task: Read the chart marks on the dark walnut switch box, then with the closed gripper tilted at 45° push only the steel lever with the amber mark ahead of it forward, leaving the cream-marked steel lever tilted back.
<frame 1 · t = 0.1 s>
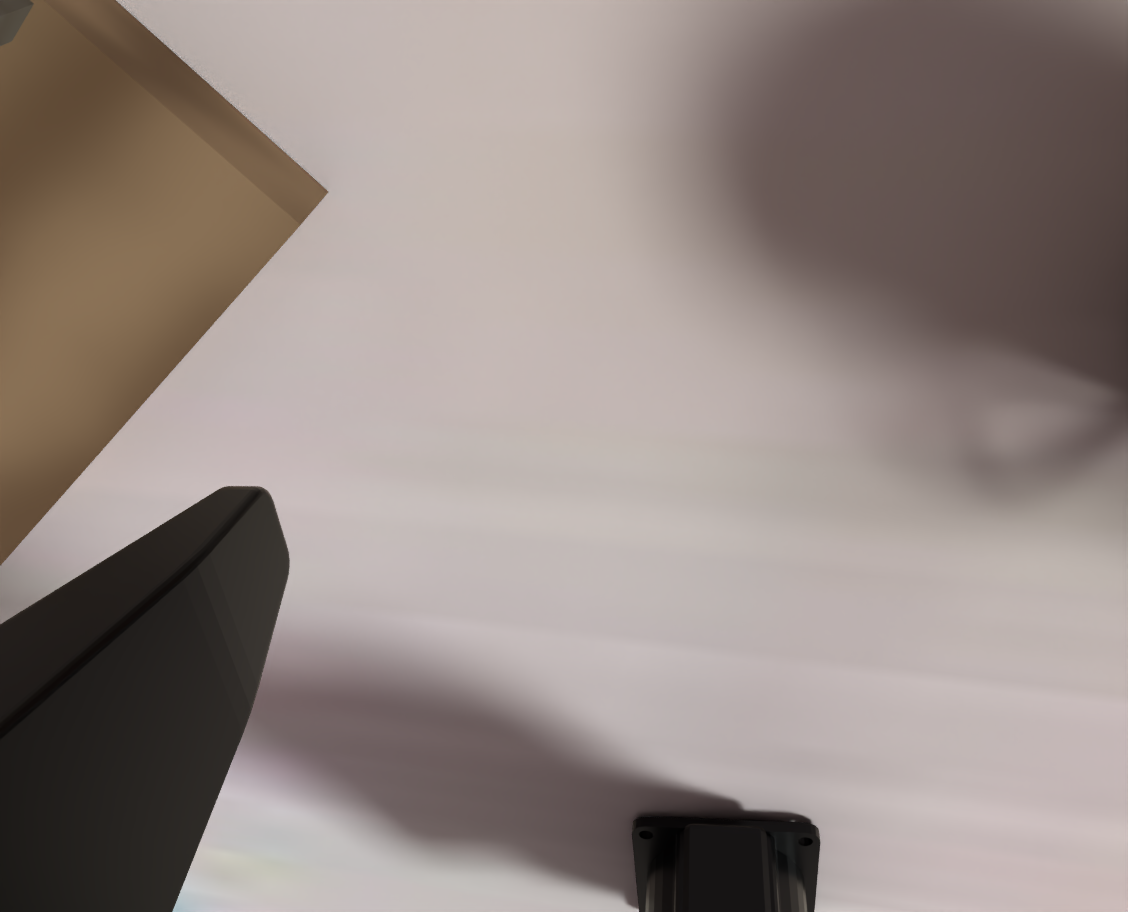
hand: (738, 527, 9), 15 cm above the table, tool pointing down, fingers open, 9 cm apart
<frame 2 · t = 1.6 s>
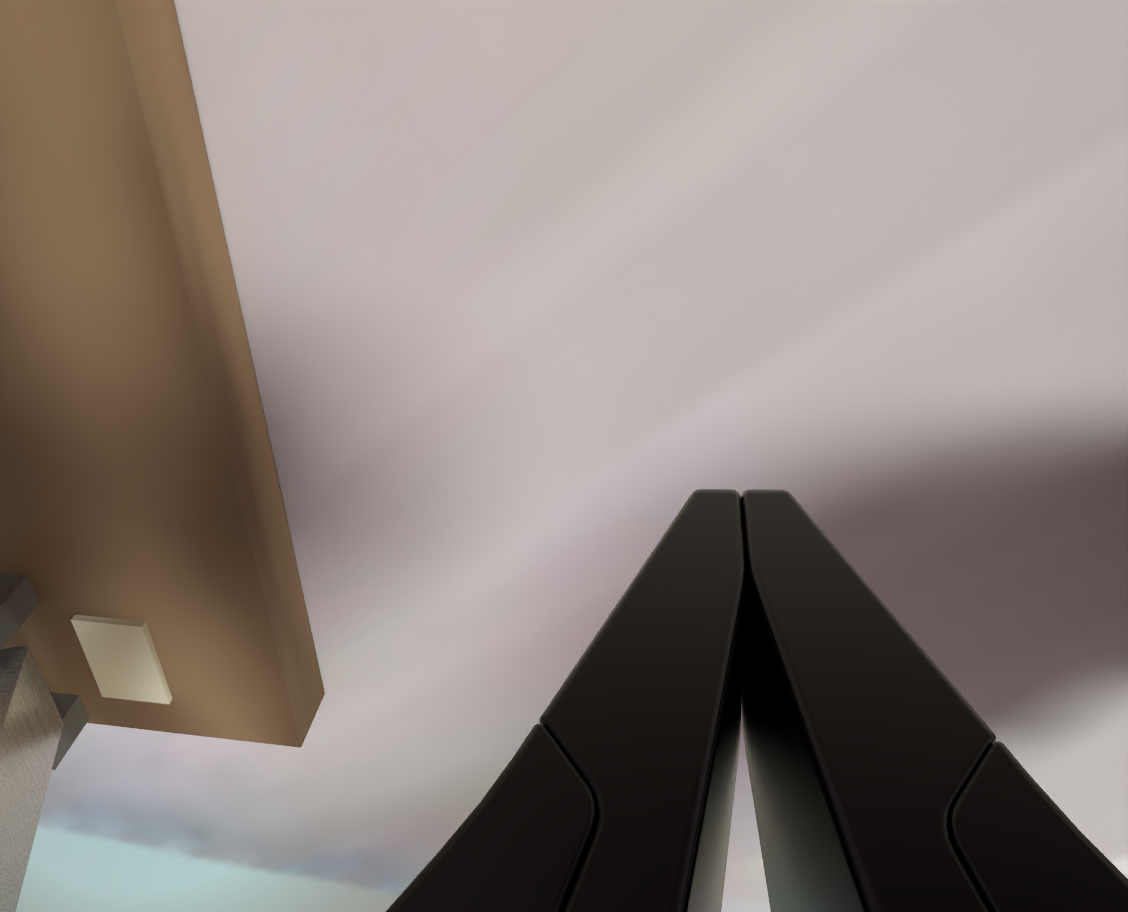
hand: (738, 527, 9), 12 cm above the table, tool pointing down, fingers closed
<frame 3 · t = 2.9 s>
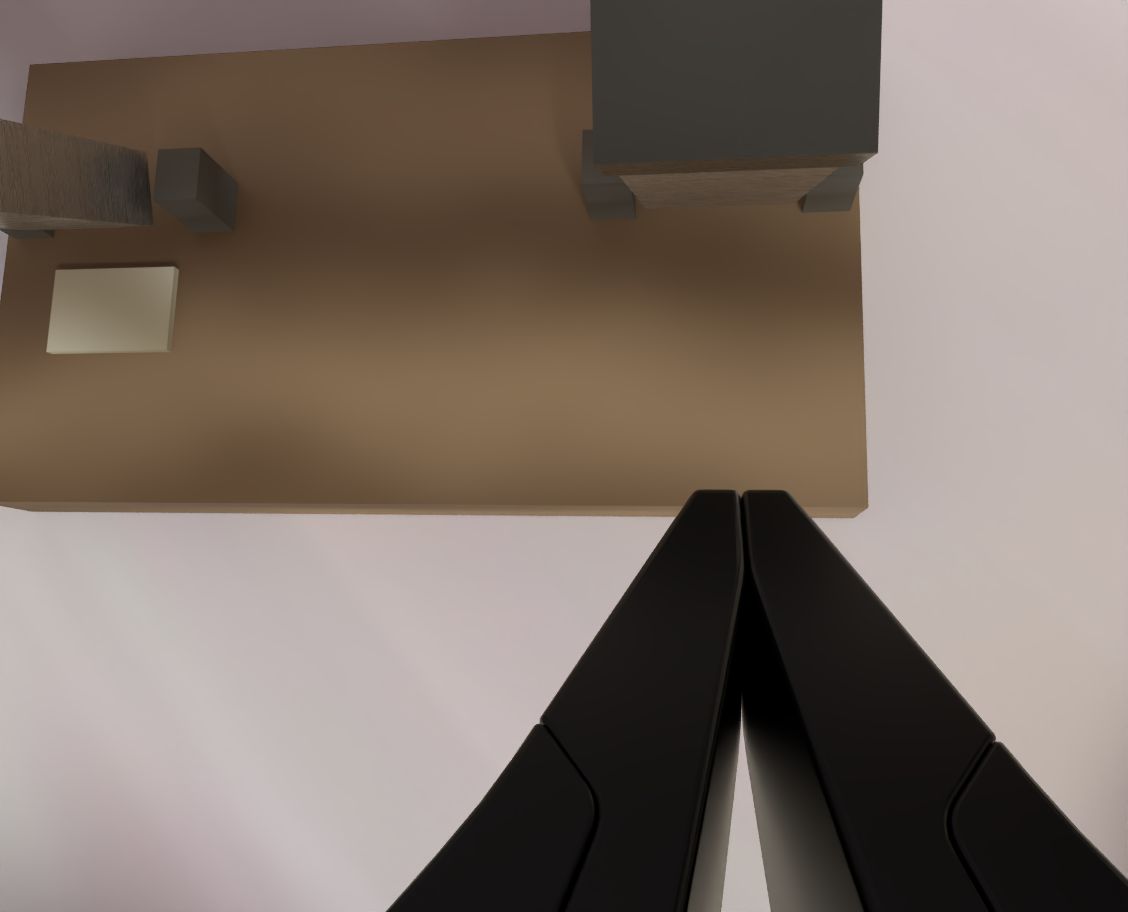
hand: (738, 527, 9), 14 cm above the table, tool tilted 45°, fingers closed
lever b: (724, 134, 16), point 8 cm above the table, hinge at -20.0°
switch box: (432, 234, 25), on the table
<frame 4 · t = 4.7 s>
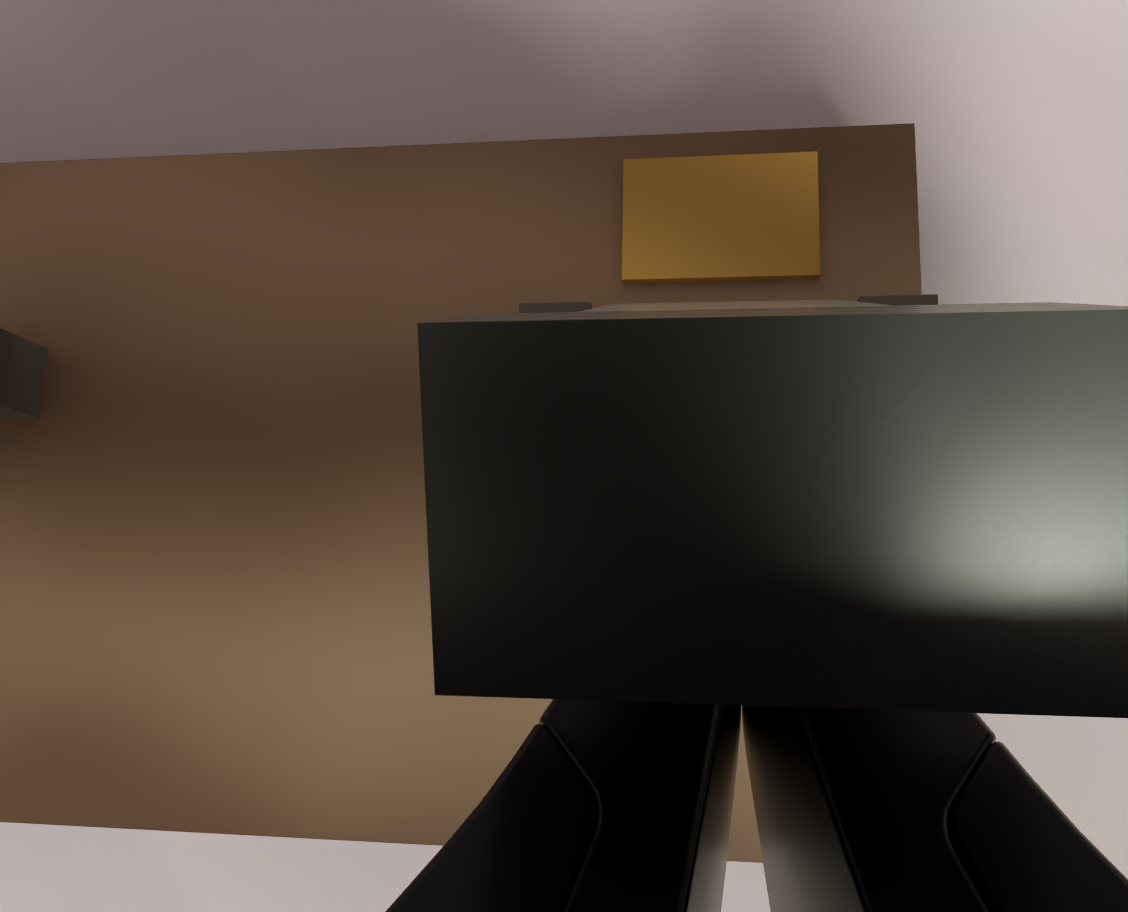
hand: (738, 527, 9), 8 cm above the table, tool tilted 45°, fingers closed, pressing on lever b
lever b: (734, 399, 9), point 8 cm above the table, hinge at -19.8°, touching gripper
switch box: (327, 407, 18), on the table
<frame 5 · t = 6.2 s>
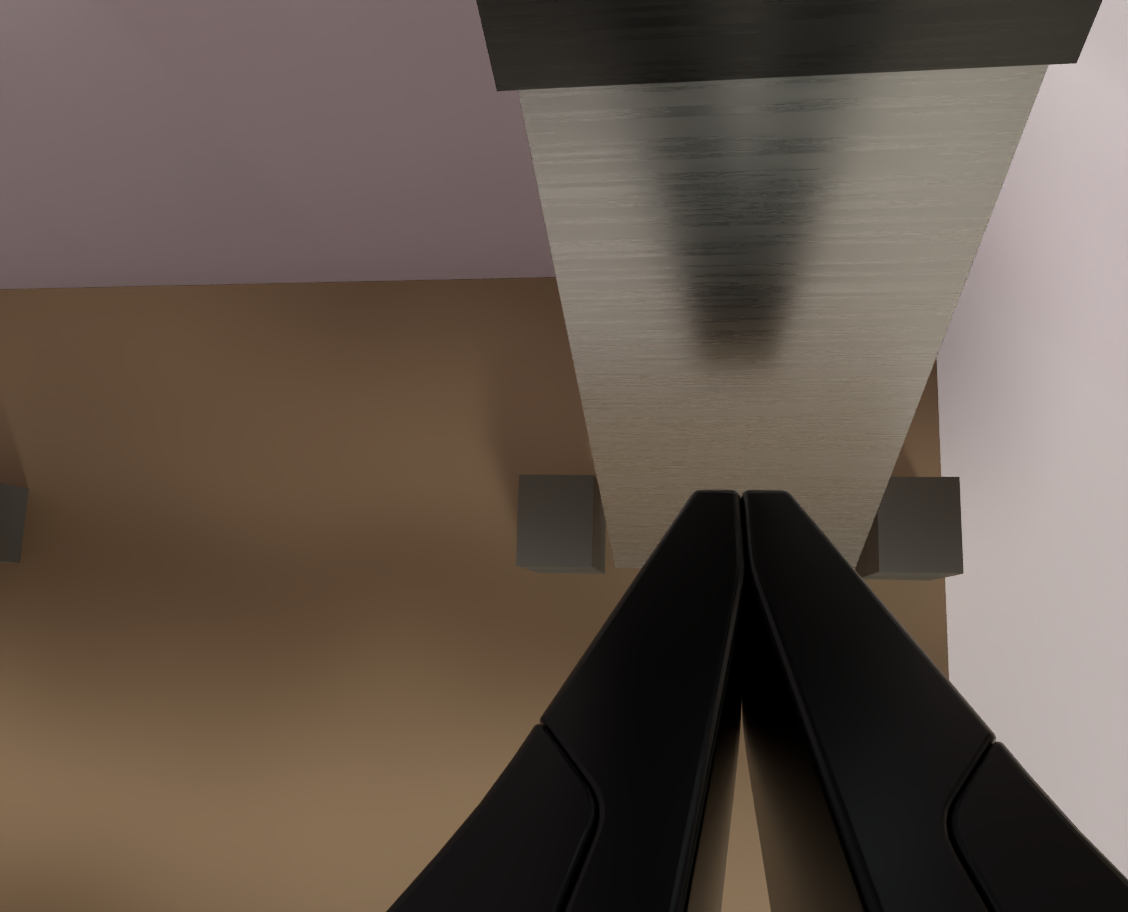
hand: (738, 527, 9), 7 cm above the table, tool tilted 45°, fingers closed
lever b: (747, 298, 9), point 8 cm above the table, hinge at 17.6°
switch box: (320, 540, 17), on the table
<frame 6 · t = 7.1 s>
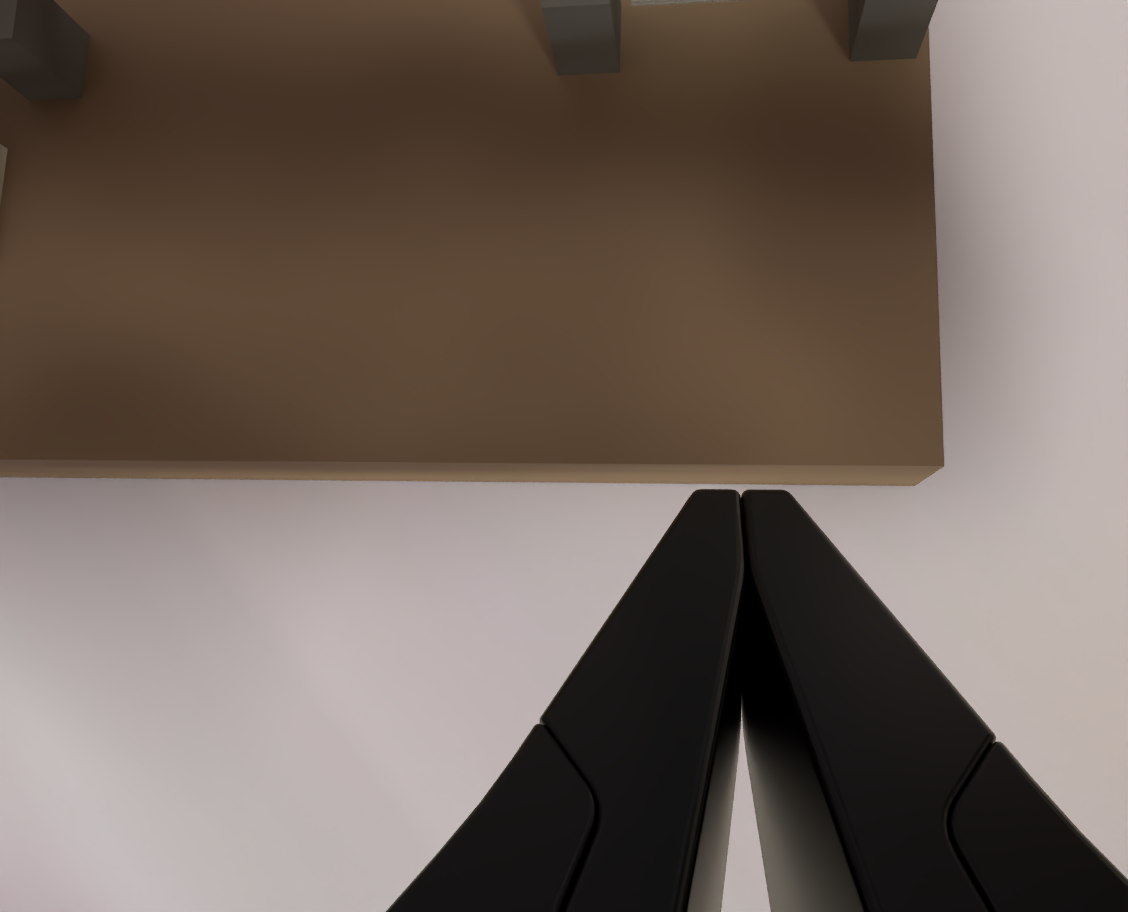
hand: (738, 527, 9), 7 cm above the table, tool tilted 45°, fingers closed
switch box: (354, 114, 19), on the table
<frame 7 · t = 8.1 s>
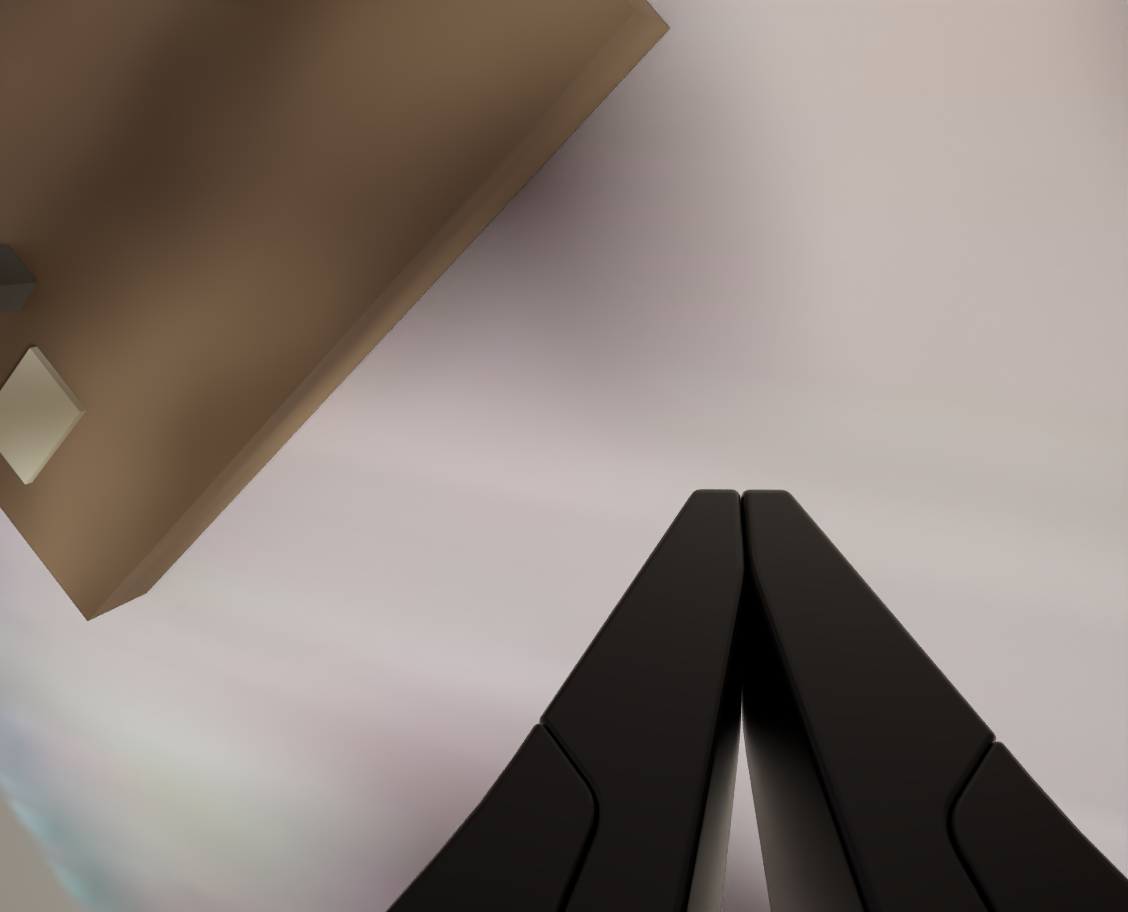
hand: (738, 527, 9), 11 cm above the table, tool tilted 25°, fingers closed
switch box: (174, 137, 23), on the table
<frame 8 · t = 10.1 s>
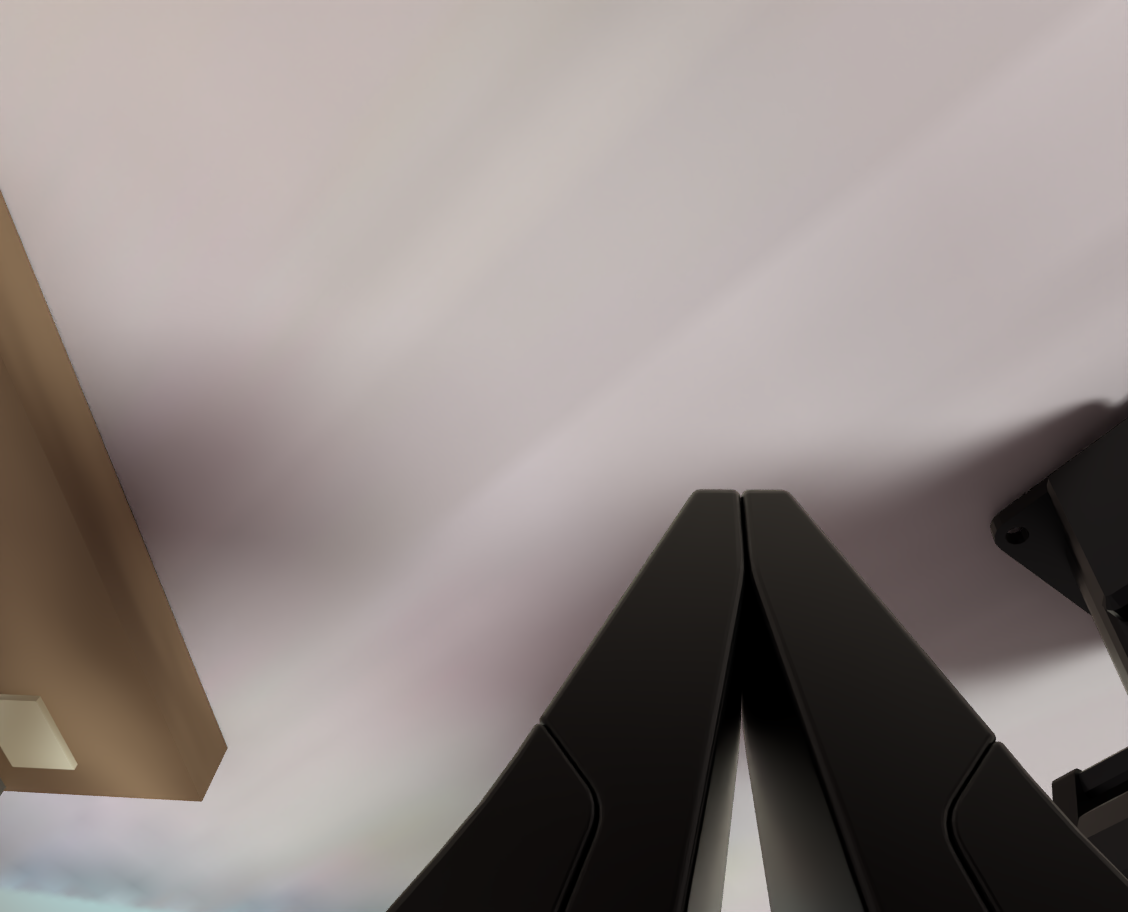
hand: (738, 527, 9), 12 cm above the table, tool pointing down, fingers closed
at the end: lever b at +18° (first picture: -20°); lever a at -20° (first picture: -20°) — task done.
